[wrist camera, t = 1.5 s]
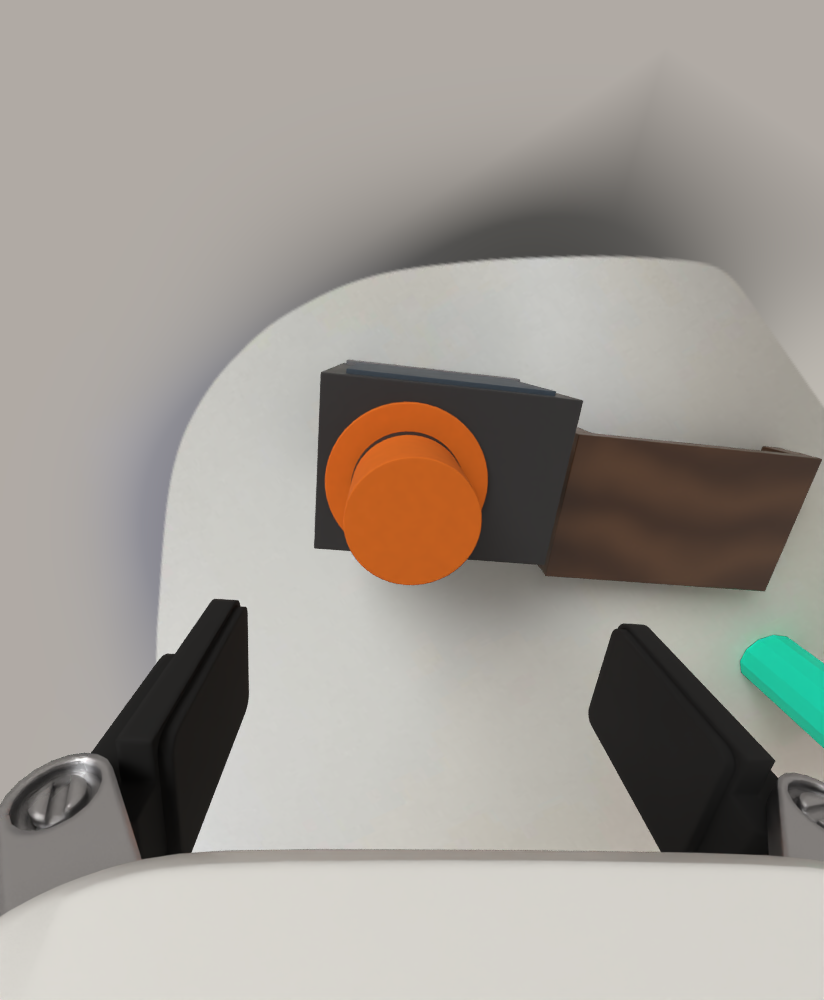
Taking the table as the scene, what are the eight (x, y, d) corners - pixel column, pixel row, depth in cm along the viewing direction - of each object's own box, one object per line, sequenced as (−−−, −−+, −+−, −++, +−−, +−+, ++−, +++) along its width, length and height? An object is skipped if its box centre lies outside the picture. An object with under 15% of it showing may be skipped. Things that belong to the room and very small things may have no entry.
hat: (329, 392, 22) (310, 408, 17) (498, 410, 23) (535, 431, 18) (322, 549, 25) (304, 607, 20) (472, 560, 26) (496, 619, 20)
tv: (343, 358, 33) (320, 365, 22) (519, 378, 34) (585, 394, 23) (336, 486, 37) (313, 548, 25) (497, 500, 38) (544, 565, 27)
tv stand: (558, 424, 36) (579, 434, 32) (779, 447, 38) (822, 459, 34) (530, 554, 40) (545, 576, 36) (730, 569, 42) (765, 591, 38)
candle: (735, 684, 47) (847, 792, 35) (745, 638, 44) (867, 737, 33) (789, 678, 47) (917, 783, 35) (801, 631, 45) (942, 728, 33)
